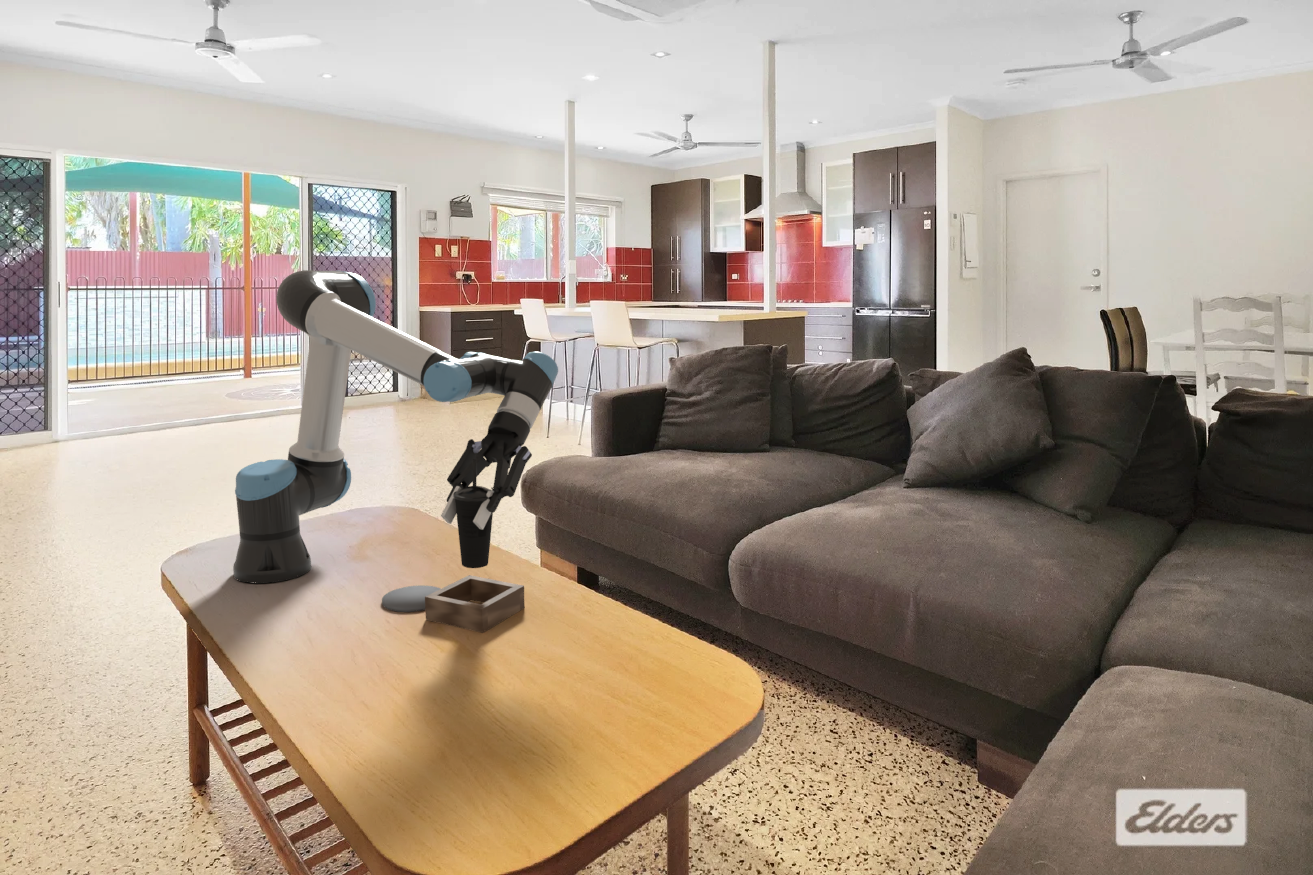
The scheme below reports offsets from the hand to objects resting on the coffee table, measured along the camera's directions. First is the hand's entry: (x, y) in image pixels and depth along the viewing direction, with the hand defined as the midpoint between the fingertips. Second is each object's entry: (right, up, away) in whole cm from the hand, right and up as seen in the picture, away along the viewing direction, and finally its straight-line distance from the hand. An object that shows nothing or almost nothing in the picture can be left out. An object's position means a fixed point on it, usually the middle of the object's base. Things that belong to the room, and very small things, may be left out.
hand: (461, 522), depth 150 cm
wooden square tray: (+1, -18, +7) cm, 19 cm away
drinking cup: (+1, -8, +5) cm, 10 cm away
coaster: (-12, -17, +13) cm, 24 cm away
